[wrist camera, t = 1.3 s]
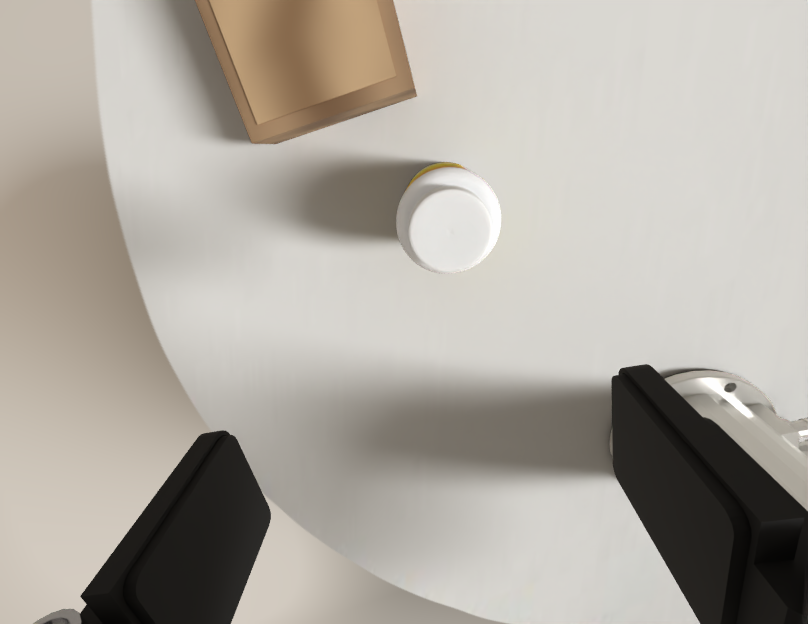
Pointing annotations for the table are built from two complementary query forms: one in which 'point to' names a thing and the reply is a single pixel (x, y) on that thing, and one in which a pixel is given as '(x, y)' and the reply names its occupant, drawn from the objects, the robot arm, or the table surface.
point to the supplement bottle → (448, 218)
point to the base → (307, 61)
